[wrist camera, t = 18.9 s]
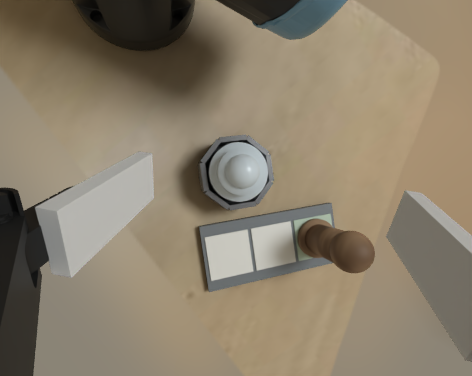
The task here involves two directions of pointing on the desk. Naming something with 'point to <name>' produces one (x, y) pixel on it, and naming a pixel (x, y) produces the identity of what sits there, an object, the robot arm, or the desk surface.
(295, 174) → the desk surface
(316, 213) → the game board
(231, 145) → the pop-up dome
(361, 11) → the desk surface
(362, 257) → the walnut pawn
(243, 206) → the dome base
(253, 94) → the desk surface
